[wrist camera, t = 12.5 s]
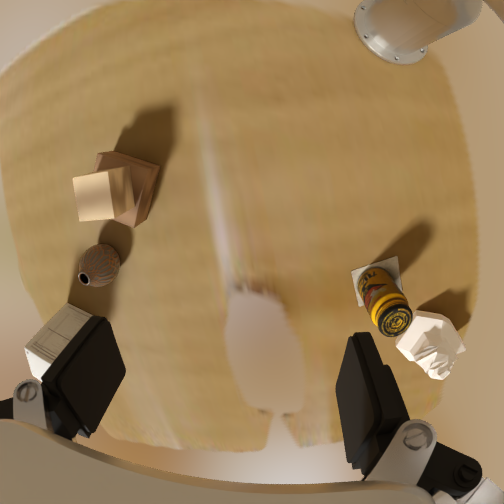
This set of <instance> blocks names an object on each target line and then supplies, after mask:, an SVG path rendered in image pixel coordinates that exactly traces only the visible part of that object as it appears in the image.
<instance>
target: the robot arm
mask: <svg viewBox="0 0 504 504" xmlns="http://www.w3.org/2000/svg"><path fill="white" fill-rule="evenodd" d="M483 1H484V2H485V3H486V4H487V5H488V6H489V7H490V8H491V9H492V10H493V11H494V12H495V13H496V14H497V16H498V17H499V18H500V19H501V20H502V22H503V23H504V0H483ZM481 8H482V0H364V1H362V2H361V3H360V4H359V5H358V7H357V9H356V11H355V13H354V26H355V29H356V32H357V34H358V36H359V38H360V39H361V41H362V42H363V43H364V45H365V46H366V47H367V48H368V49H369V50H370V51H372V52H373V53H374V54H375V55H377V56H378V57H380V58H381V59H383V60H385V61H388V62H390V63H394V64H398V65H410V64H413V63H416V62H417V61H419V60H421V59H422V58H423V57H424V56H425V54H426V52H427V49H428V45H429V44H430V43H433V42H434V41H437V40H439V39H440V38H443V37H445V36H447V35H449V34H451V33H453V32H455V31H457V30H460V29H462V28H464V27H466V26H468V25H470V24H472V23H473V22H475V20H476V19H477V18H478V16H479V14H480V12H481ZM365 37H366V38H365ZM395 59H396V60H395ZM125 373H126V368H125V365H124V363H123V360H122V357H121V354H120V351H119V349H118V346H117V343H116V340H115V337H114V334H113V330H112V327H111V324H110V322H109V321H107V319H106V318H105V317H100V316H91V317H90V318H89V320H88V321H87V322H86V323H85V324H84V325H83V326H82V328H81V329H80V330H79V331H78V332H77V334H76V335H75V336H74V337H73V338H72V339H71V341H70V342H69V343H68V344H67V345H66V347H65V348H64V349H63V350H62V352H61V353H60V354H59V355H58V357H57V358H56V359H55V360H54V362H53V363H52V364H51V365H50V367H49V368H48V369H47V370H46V372H45V373H44V374H43V376H42V377H41V380H42V381H43V382H42V384H40V383H39V382H38V381H36V380H33V379H29V380H25V381H22V382H21V383H19V384H18V385H17V387H16V388H15V390H14V393H13V398H9V399H6V400H3V401H0V504H504V492H503V491H502V490H501V489H500V488H499V487H498V486H497V485H496V484H494V483H493V482H492V481H491V480H490V479H489V478H486V479H484V478H483V477H482V468H481V466H480V464H479V463H478V461H476V460H475V459H473V458H471V457H469V456H467V455H464V454H462V453H459V452H458V451H455V450H453V449H451V448H449V447H447V446H445V445H443V444H441V443H439V442H437V434H436V431H435V429H434V428H433V427H432V426H431V424H429V423H428V422H426V421H423V420H420V419H413V420H410V418H409V415H408V412H407V409H406V407H405V404H404V401H403V399H402V396H401V393H400V391H399V388H398V385H397V383H396V380H395V378H394V375H393V373H392V370H391V368H390V366H389V365H383V363H382V360H381V358H380V355H379V353H378V350H377V348H376V345H375V343H374V340H373V338H372V336H371V333H370V332H356V333H354V335H353V336H350V337H349V338H348V342H347V346H346V350H345V354H344V358H343V361H342V365H341V369H340V372H339V376H338V379H337V383H336V397H337V402H338V408H339V414H340V420H341V426H342V432H343V438H344V445H345V452H346V458H347V462H348V463H352V468H353V469H361V472H362V474H363V475H364V477H363V478H362V480H361V481H351V482H335V483H321V484H254V483H239V482H229V481H219V480H212V479H205V478H199V477H192V476H187V475H181V474H176V473H171V472H167V471H162V470H158V469H154V468H150V467H146V466H142V465H139V464H135V463H132V462H128V461H125V460H122V459H119V458H115V457H113V456H109V455H107V454H104V453H101V452H98V451H95V450H93V449H90V448H88V447H85V446H83V445H80V444H78V443H77V441H76V437H75V436H76V434H77V433H78V434H79V435H81V436H84V437H86V438H89V437H90V435H91V433H94V432H95V431H96V429H97V427H98V425H99V423H100V421H101V419H102V417H103V415H104V414H105V412H106V410H107V408H108V406H109V404H110V402H111V400H112V398H113V396H114V395H115V393H116V391H117V389H118V387H119V385H120V384H121V382H122V380H123V378H124V376H125Z"/></svg>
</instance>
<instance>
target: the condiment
mask: <svg viewBox="0 0 504 504" xmlns="http://www.w3.org/2000/svg"><path fill="white" fill-rule="evenodd" d="M386 269H387V270H386ZM388 270H389V271H388ZM351 273H352V277H353V282H354V287H355V291H356V296H357V300H358V305H359V307H360V306H363V305H365V307H366V309H367V311H368V313H369V315H370V318H371V320H372V321H373V323H374V324H375V325H376V326H377V327H378V328H379V330H380V332H381V333H382V334H383V335H385V336H387V337H395V336H398V335H401V334H402V333H404V332H405V331H406V330H407V329H408V328H409V326H410V324H411V322H412V319H413V314H412V311H411V309H410V308H409V306H408V301H407V299H406V297H405V296H404V294H403V293H402V287H401V279H400V272H399V264H398V257H397V256H395V257H392V258H389V259H386V260H383V261H381V262H377V263H374V264H371V265H368V266H365V267H362V268H359V269H356V270H353V271H351Z"/></svg>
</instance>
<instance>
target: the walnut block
mask: <svg viewBox="0 0 504 504" xmlns="http://www.w3.org/2000/svg"><path fill="white" fill-rule="evenodd" d="M124 166H130V171H131V180H132V188H133V196H134V203H135V207H134V208H132V209H130V210H128V211H127V212H125V213H123V214H121V215H120V216H118V217H116V218H114V219H112V220H115V221H117V222H120V223H122V224H125V225H127V226H130V227H132V228H135V227H136V226H138V225H139V224H140V223H142V222H143V221H145V220H146V219H147V215H148V211H149V207H150V203H151V199H152V196H153V192H154V188H155V185H156V181H157V177H158V174H159V170H160V167H161V166H159V165H156V164H153V163H150V162H147V161H144V160H141V159H138V158H135V157H131V156H128V155H125V154H122V153H119V152H115V151H109V152H103V153H98V154H97V158H96V163H95V167H94V172H95V171H100V170H106V169H112V168H118V167H124Z"/></svg>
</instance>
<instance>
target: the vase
mask: <svg viewBox="0 0 504 504" xmlns="http://www.w3.org/2000/svg"><path fill="white" fill-rule="evenodd" d="M119 268H120V259H119V256H118V254H117V252H116V251H115V249H113V248H112V247H111V246H109V245H106V244H97V245H94V246H92V247H90V248H89V249H88V250H86V251H85V253H84V254H83V256H82V257H81V260H80V263H79V274H78V278H79V281H80V282H81V283H82V284H83V285H86V286H87V285H90V286H94V287H101V286H105V285H107V284H109V283H110V282H111V281H112V280H113V279H114V278H115V277H116V276H117V274H118V272H119Z"/></svg>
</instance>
